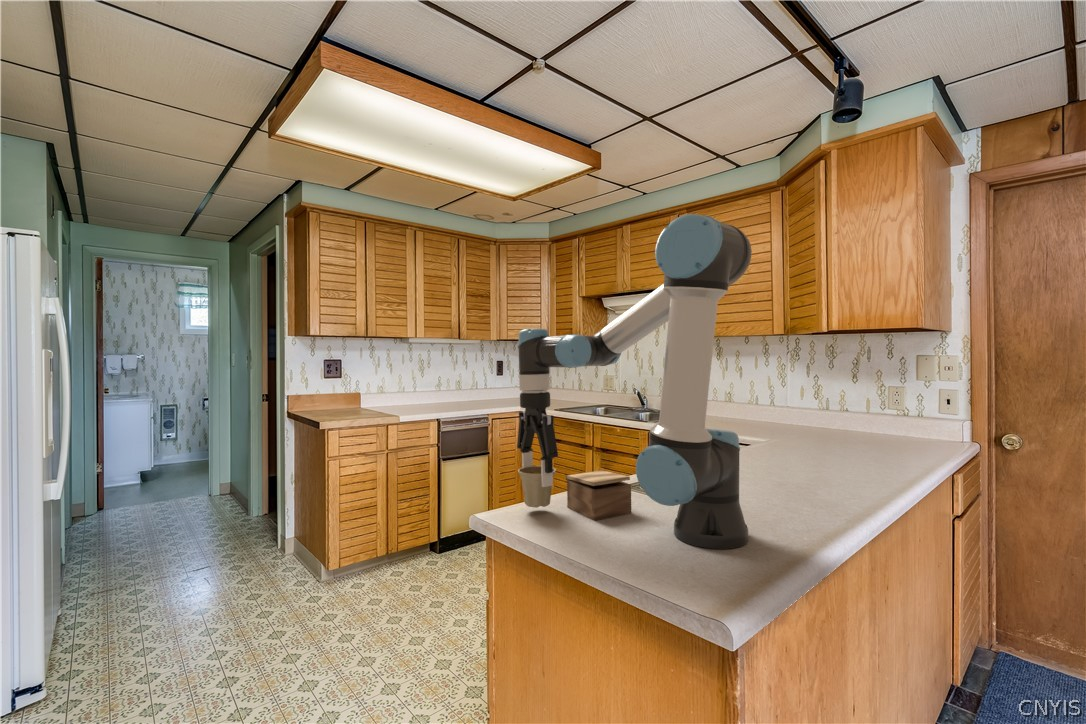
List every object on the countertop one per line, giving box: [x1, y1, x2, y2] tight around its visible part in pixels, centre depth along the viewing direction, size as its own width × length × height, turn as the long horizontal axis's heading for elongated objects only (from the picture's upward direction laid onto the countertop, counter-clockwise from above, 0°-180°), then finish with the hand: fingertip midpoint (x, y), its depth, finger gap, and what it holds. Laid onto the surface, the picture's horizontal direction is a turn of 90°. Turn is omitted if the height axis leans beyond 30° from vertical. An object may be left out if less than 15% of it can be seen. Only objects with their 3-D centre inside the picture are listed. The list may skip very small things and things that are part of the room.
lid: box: [565, 470, 631, 486], centre depth 129 cm, size 13×11×1 cm
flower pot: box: [517, 465, 557, 509], centre depth 128 cm, size 9×9×9 cm
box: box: [566, 480, 632, 522], centre depth 129 cm, size 12×11×7 cm
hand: (537, 481), depth 128 cm, fingers closed on flower pot, 9 cm apart
